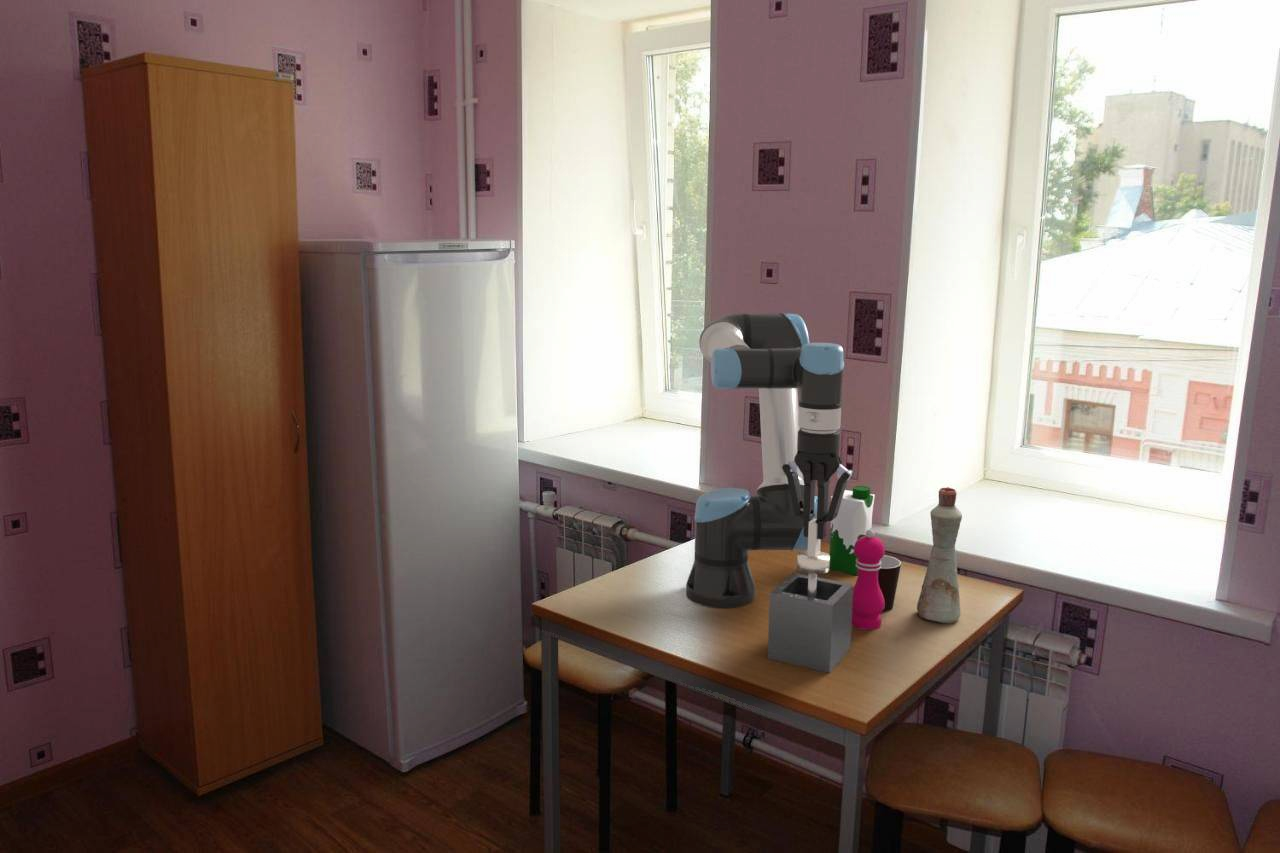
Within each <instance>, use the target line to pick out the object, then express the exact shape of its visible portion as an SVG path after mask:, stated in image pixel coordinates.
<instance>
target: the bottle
mask: <svg viewBox="0 0 1280 853" xmlns="http://www.w3.org/2000/svg"><path fill="white" fill-rule="evenodd" d="M957 494H958V493H957V491H956V489H954V488H952V487H949V486H947V487H942V488H940V489H939V490H938V504H937V505H936V506H935V507H934V508H932V509H931V510H930V512H929V514H930V521H931V522H930V523H931V534H932V544H933V545H932V548H931V551H930V556H929V559H928V562H927V566H926V572H925V574H924V575H925V576H924V579H923V582H922V583H923V584H922V585H921V591H920V594H919V597H918V600H917V605H916V611H917V615H918V616H919V617H920V618H922V619H924V620H929V621H932V622H937V623H941V624H949V625H951V624H952V623H954V622H955V623H956V622H957V621H958V620H959V619H960V617H961V615H962V614H961V613H962V612H961V601H960V600H961V599H960V589H959V588H960V585H959V583H960V582H959V578H958V565H957V554H956V553H957V552H956V543H957V542H956V541H957V538H958V535H959V530H960V526H961V522H962V519H963V513H962V512H961V511H960V509H959V507H957V506H956V501H957Z"/></svg>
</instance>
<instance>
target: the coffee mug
mask: <svg viewBox="0 0 1280 853" xmlns="http://www.w3.org/2000/svg"><path fill="white" fill-rule="evenodd" d="M880 561H881V569H879V572H878V583H879V587H880V589H881V592H882V594H883V597H884V601H885V607H884V610H883V611H882V612H881V613H884V612H889V611H892V610H893V609H894V603H895V598H896V593H897V588H898V582H899V579H900V574H901V573H900V572H901V566H902V562H901V560H899V559H898V558H896V557H894V556H889V555H885V554H884V556H883V557H882V558H881V559H880Z"/></svg>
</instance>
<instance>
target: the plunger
mask: <svg viewBox="0 0 1280 853" xmlns="http://www.w3.org/2000/svg"><path fill="white" fill-rule="evenodd" d="M807 553H808V549H805V550H802V551H801V550H800V551H799V552H797V554H796V569H797V570H798V572H801V573H804V574H807V575H808V596H807V597H811V598H816V590H817V577H818V575H822V574H823V575H824V574H827V573H829V572H830V570H831V569H830V553H827V552H825V551H821V550H820V554H819V555H817V556H816V557H810V556H807Z"/></svg>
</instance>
